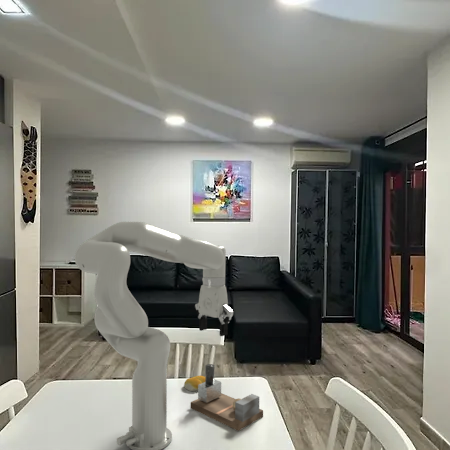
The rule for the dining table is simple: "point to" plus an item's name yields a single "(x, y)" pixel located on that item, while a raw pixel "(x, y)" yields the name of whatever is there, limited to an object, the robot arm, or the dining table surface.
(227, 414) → the base
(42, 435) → the dining table surface
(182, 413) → the dining table surface
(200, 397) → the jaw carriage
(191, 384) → the bread roll
